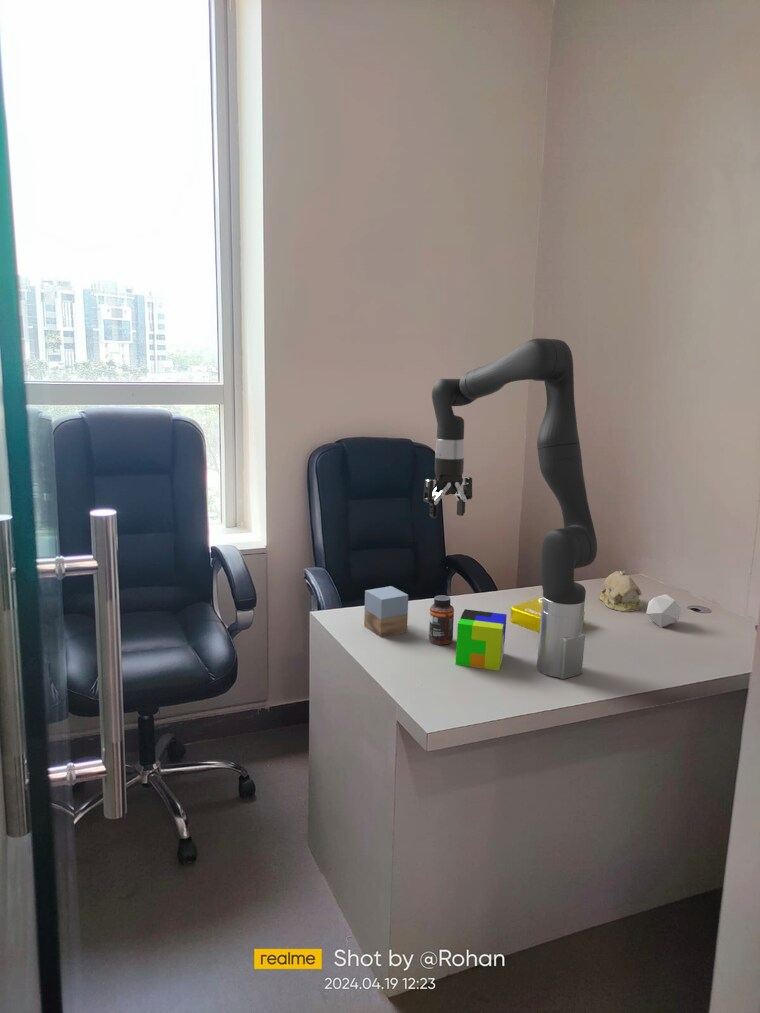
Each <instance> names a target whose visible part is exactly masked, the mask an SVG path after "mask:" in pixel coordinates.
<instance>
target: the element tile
mask: <svg viewBox="0 0 760 1013" xmlns="http://www.w3.org/2000/svg"><path fill="white" fill-rule="evenodd" d="M542 598H543V596H540V597H536V598H534V599H530V600H527V601H524V602H520V603H517V604H515V605H512V606H511V608H510V619H509V621H510V623H512V624H514V625H516V626H520V627H523V628H526V629H527V630H531V631H534V632H536V633H539V634H540V622H541V610H542ZM585 613H586V611H584V615H583V626H584V624H585Z"/></svg>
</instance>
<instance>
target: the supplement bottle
mask: <svg viewBox="0 0 760 1013" xmlns="http://www.w3.org/2000/svg"><path fill="white" fill-rule="evenodd" d="M454 614H455V609H454V606H453V605H452V604H451V597H450V596H448V595H442V594H441V595H436V596H434V598H433V604H432V605H431V606H430V608H429V626H428V627H429V628H428V629H429V630H428V641H430V643H432V644H435V645H448V644H451V643H452V642H453V639H454V619H455V616H454Z"/></svg>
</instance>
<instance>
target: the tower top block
mask: <svg viewBox="0 0 760 1013" xmlns="http://www.w3.org/2000/svg"><path fill="white" fill-rule="evenodd" d="M365 610H367V611H369V612H370V613H372V614H374V615H375V616H377V617H379V618H380V619H383V618H388V617H393V616H398V615H403V614H408V615H409V613H408V611H409V594H407V593H405V592H404V591H401V590H400V589H398V588H396V587H394V586H392V585H389V586H385V587H378V588H372V589H366V590H364V611H365Z"/></svg>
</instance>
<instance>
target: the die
mask: <svg viewBox="0 0 760 1013" xmlns="http://www.w3.org/2000/svg"><path fill="white" fill-rule="evenodd" d="M647 604H648V605H647V609H646V613H645V614H646V615H647V617H649V619H651V621H652V620H653V622H654V623H655V624H656V625H657V626H658V625H659V626H658V627H659V628H663V626H664V627H667V625H668V626H670V624H671V625H673V624H674V623H677V621H679V619H680V615H681V608H682V607H681V606H680V605H679V604H678V603H677V600H675V599H673V598H672V597H671V596H669V595H668V594H667V593H666V594H665V593H664V594H662V595H657V596H655V597H653V598H652V599H651V600H649V601H648V603H647Z"/></svg>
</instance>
